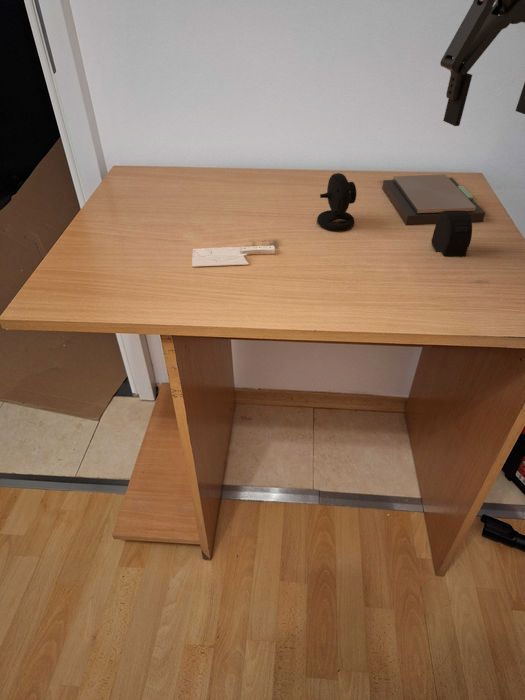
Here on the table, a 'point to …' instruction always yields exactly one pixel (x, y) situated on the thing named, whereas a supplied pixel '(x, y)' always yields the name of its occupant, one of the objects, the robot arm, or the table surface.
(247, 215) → the table surface
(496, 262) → the table surface
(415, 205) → the pan
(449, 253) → the tape measure
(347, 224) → the webcam
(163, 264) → the table surface
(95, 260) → the table surface
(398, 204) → the scale base
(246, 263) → the toy cleaver knife
